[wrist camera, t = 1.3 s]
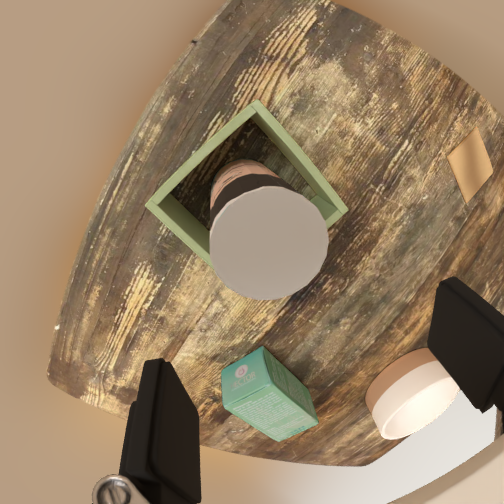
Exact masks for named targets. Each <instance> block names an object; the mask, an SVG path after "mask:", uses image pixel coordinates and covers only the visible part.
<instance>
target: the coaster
mask: <svg viewBox="0 0 504 504" xmlns="http://www.w3.org/2000/svg"><path fill="white" fill-rule="evenodd" d="M447 160H448V162H449V164H450V166H451V169H452V171H453V173H454V176H455V178H456V180H457V183H458V185H459V188H460V190H461V193H462V196H463V198H464V201H465V203H467V202H468V201H469V200H470V199H471V198H472V197H473V196H474V194H475V193H476V192H477V191H478V190H479V189H480V187H481V186H482V185H483V184H484V183H485V182H486V180H487V179H488V178H489V177H490V175H491V174H492V173H493V169H492V166H491V163H490V160H489V157H488V154H487V151H486V148H485V146H484V143H483V140H482V138H481V135H480V133H479V130H478V128H477V127H475V128H474V129H473V130H472V131H471V132H470V133H469V134H468V135H467V136H466V137H465V138H464V140H463V141H462V142H461V143H460V144H459V145H458V146H457V147H456V148H455V149H454V150H453V151H452V152H451V153H450V154H449V155H448V156H447Z"/></svg>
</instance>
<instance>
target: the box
mask: <svg viewBox="0 0 504 504" xmlns="http://www.w3.org/2000/svg"><path fill="white" fill-rule="evenodd" d="M221 391H222V403H223V406H224V407H225V409H226V410H228V411H230V412H231V413H233V414H234V415H236V416H237V417H239V418H240V419H242V420H244V421H245V422H247V423H248V424H250V425H251V426H253V427H254V428H256V429H258V430H259V431H261V432H262V433H264V434H266V435H267V436H269V437H270V438H272V439H274V440H276V441H278V442H279V441H282V440H284V439H286V438H289V437H291V436H293V435H296V434H298V433H300V432H302V431H304V430H307V429H309V428H311V427H313V426H315V425H317V424H318V423H319V421H318V418H317V415H316V412H315V409H314V405H313V402H312V399H311V396H310V393H309V390H308V389H307V388H306V387H305V386H304V385H303V384H302V383H301V382H300V381H299V380H298V379H297V378H296V377H295V376H294V375H293V374H292V373H291V372H290V371H289V370H288V369H287V368H286V367H284V366H283V365H282V364H281V363H280V362H279V361H278V360H277V359H276V358H275V357H274V356H273V355H272V354H271V353H270V352H269V351H268V350H267V349H266V348H265V347H264V346H261V347H260V348H258V349H256V350H255V351H253V352H251V353H250V354H248V355H247V356H245V357H243V358H242V359H240V360H238V361H236V362H235V363H233V364H231V365H229V366H227V367H226V368H224V369H223V370H222V372H221Z"/></svg>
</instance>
